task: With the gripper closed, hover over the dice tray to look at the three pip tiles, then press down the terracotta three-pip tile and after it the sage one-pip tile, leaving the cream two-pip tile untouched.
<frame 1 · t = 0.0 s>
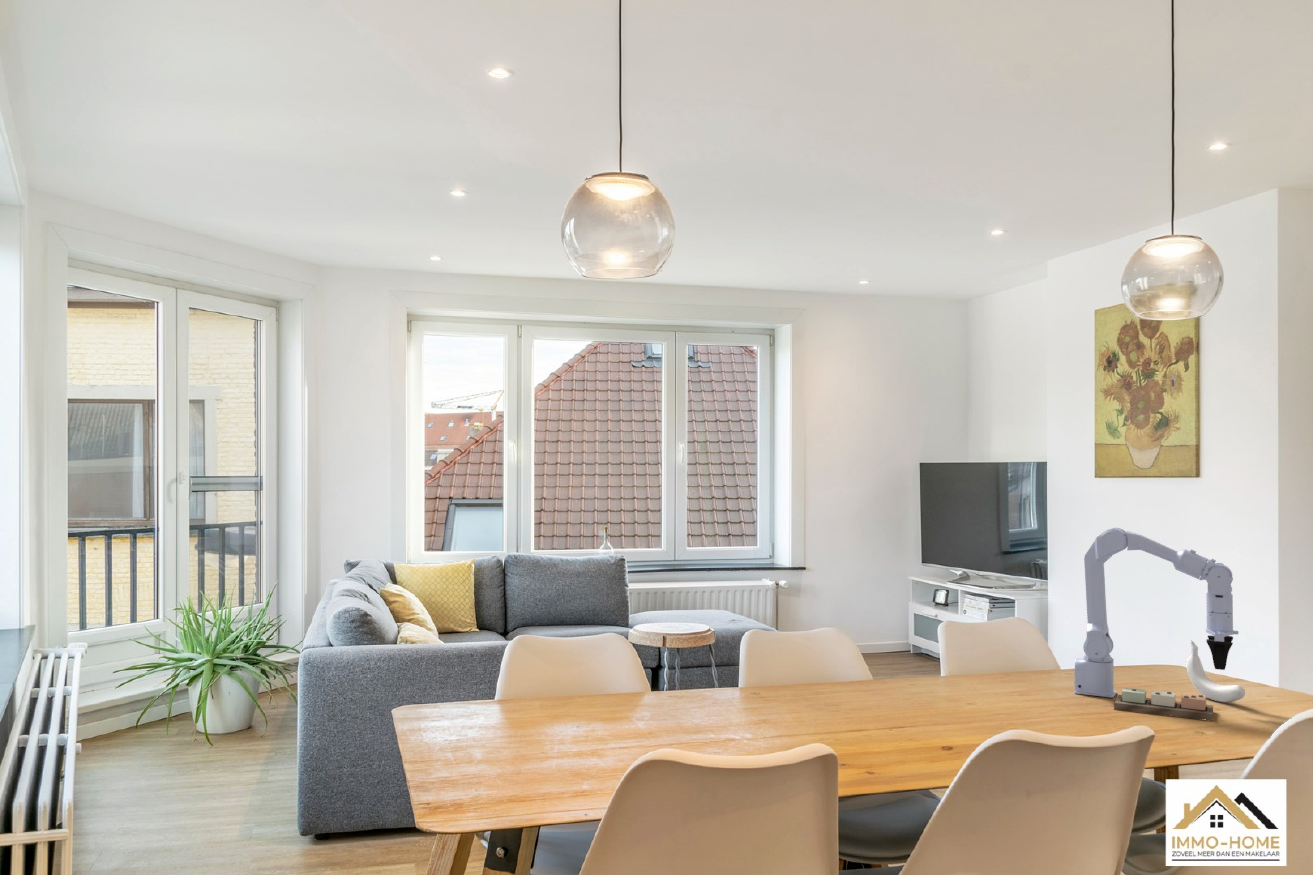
hand: (1220, 666, 245), 10 cm above the table, tool pointing down, fingers open, 7 cm apart
tile one: (1134, 694, 243), point 3 cm above the table, slide at 0.0 cm
tile three: (1193, 701, 237), point 3 cm above the table, slide at 0.0 cm
dice tray: (1163, 710, 240), on the table
banana: (1216, 702, 251), on the table
tile two: (1163, 698, 240), point 3 cm above the table, slide at 0.0 cm
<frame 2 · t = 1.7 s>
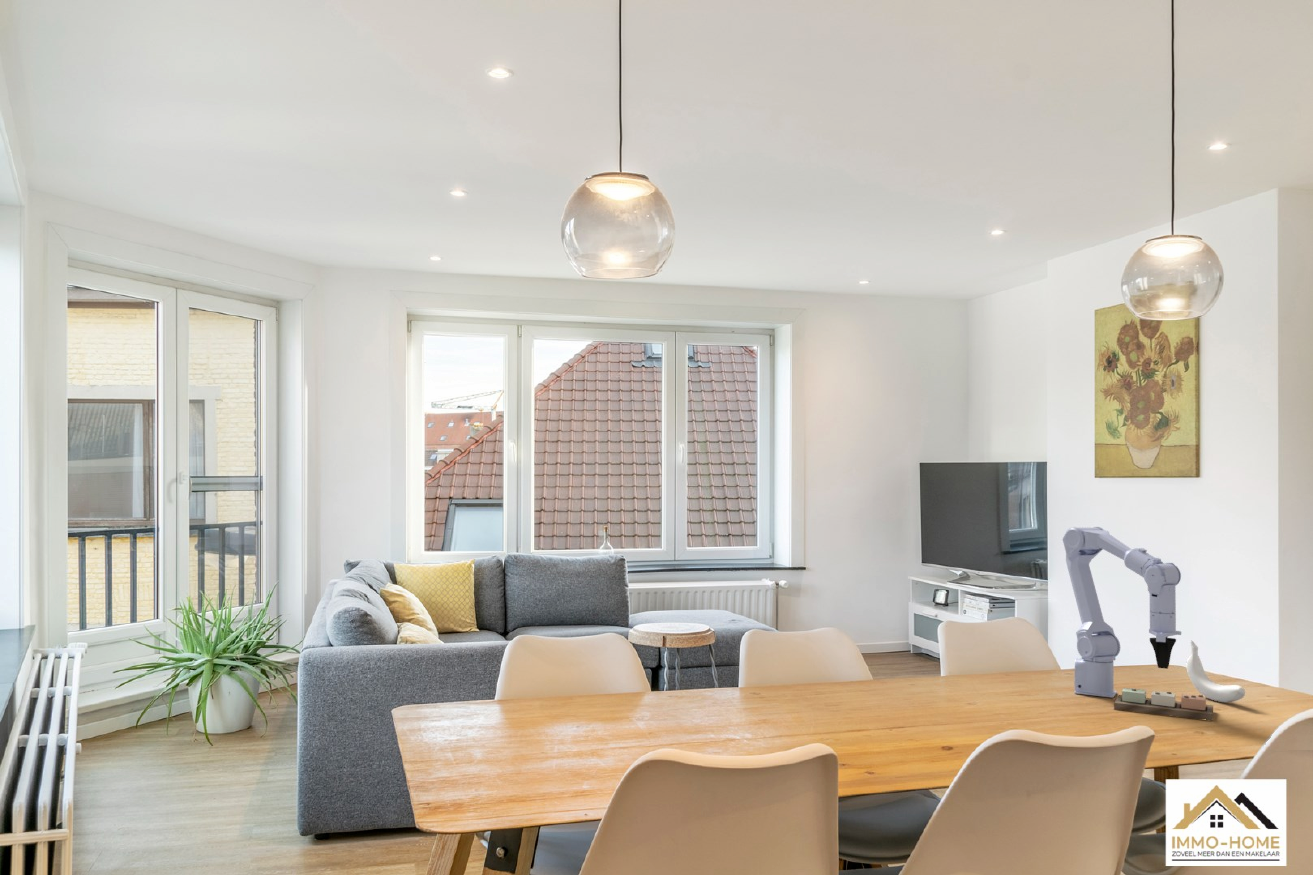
hand: (1163, 667, 240), 10 cm above the table, tool pointing down, fingers closed
nothing on the table moved.
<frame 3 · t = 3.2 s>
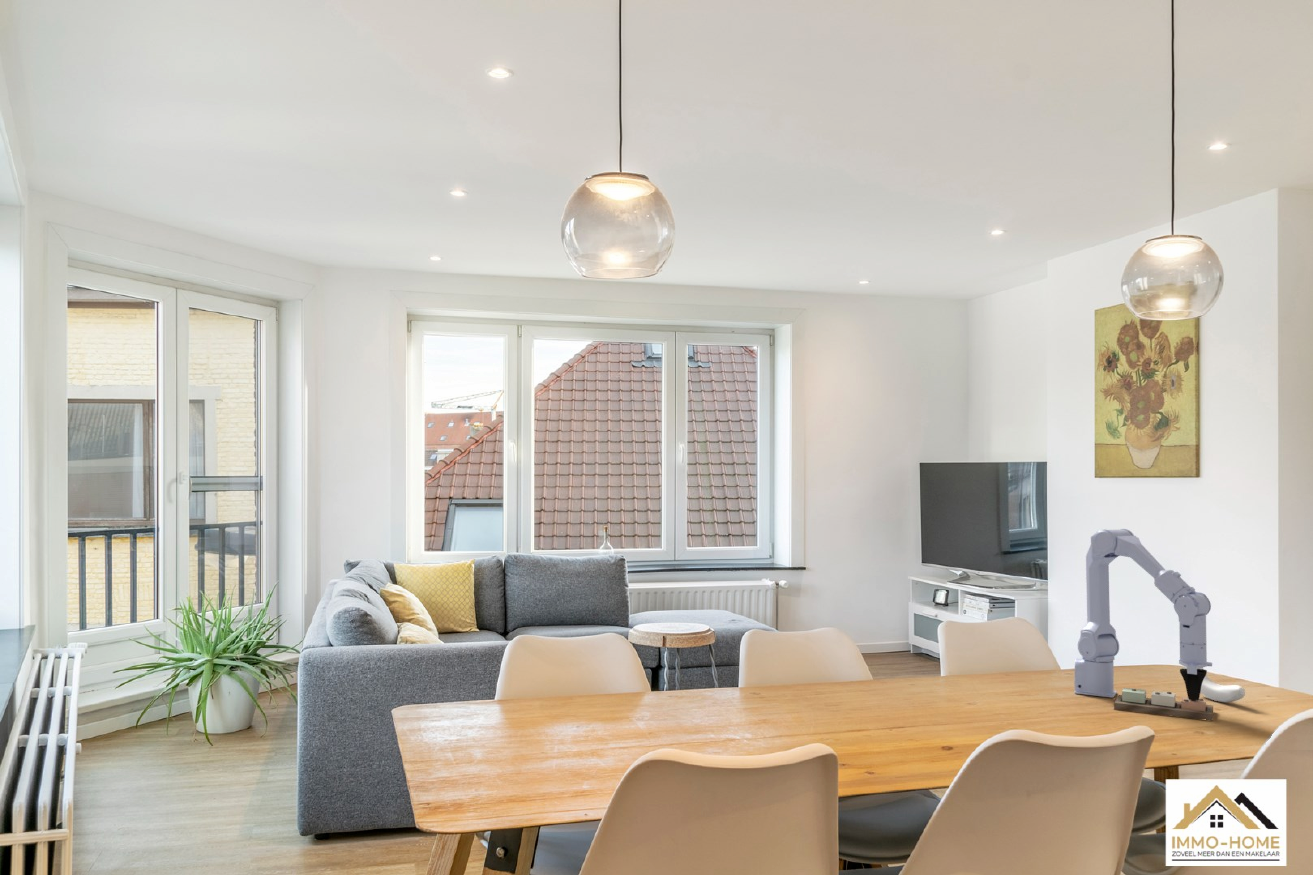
hand: (1193, 699, 237), 3 cm above the table, tool pointing down, fingers closed, pressing on tile three
tile three: (1193, 705, 237), point 2 cm above the table, slide at 0.9 cm, touching gripper
everything else where it was.
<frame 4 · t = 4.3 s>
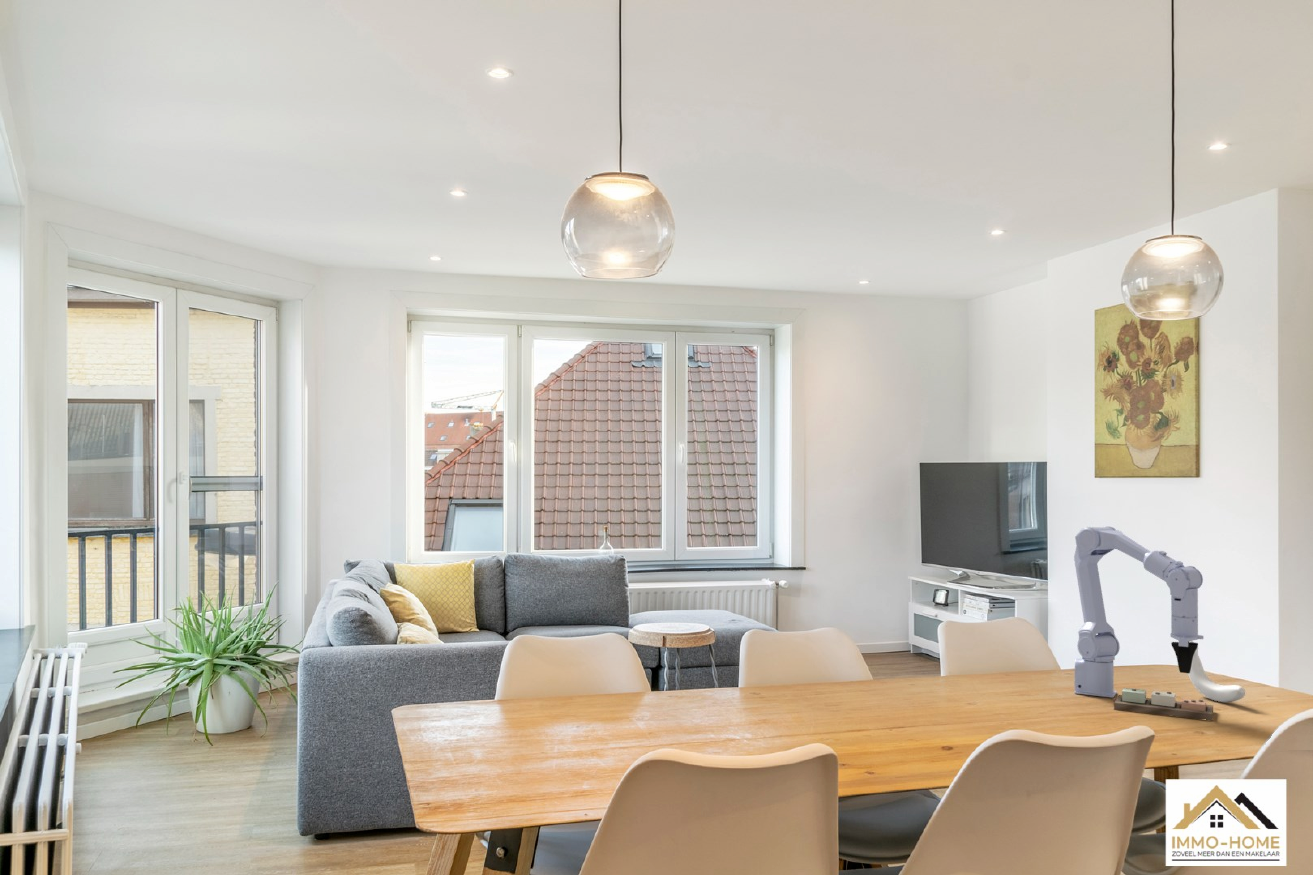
hand: (1184, 672, 238), 10 cm above the table, tool pointing down, fingers closed
tile three: (1193, 706, 237), point 2 cm above the table, slide at 1.1 cm
everything else where it was.
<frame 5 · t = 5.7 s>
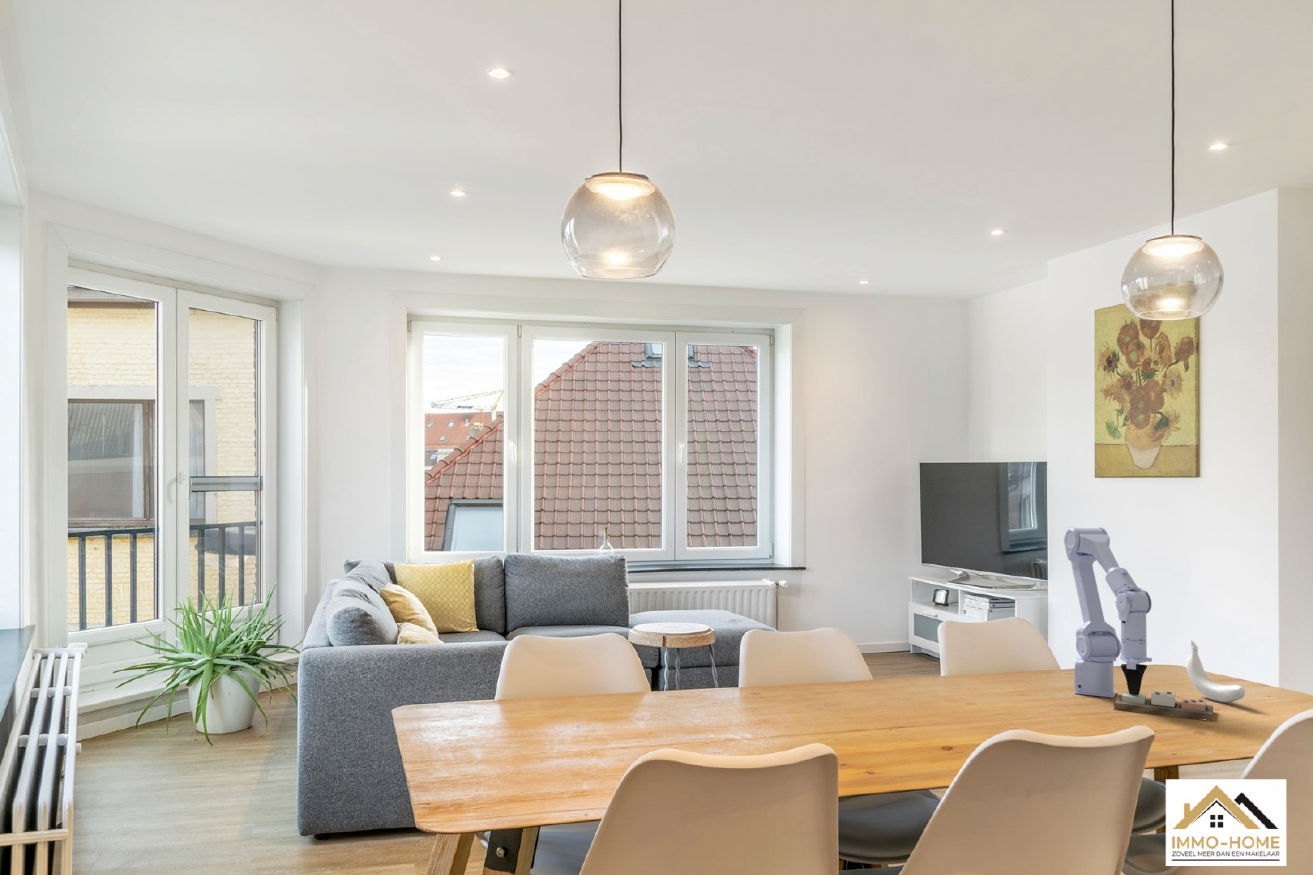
hand: (1134, 694, 243), 3 cm above the table, tool pointing down, fingers closed, pressing on tile one
tile one: (1134, 699, 243), point 2 cm above the table, slide at 1.1 cm, touching gripper
everything else where it was.
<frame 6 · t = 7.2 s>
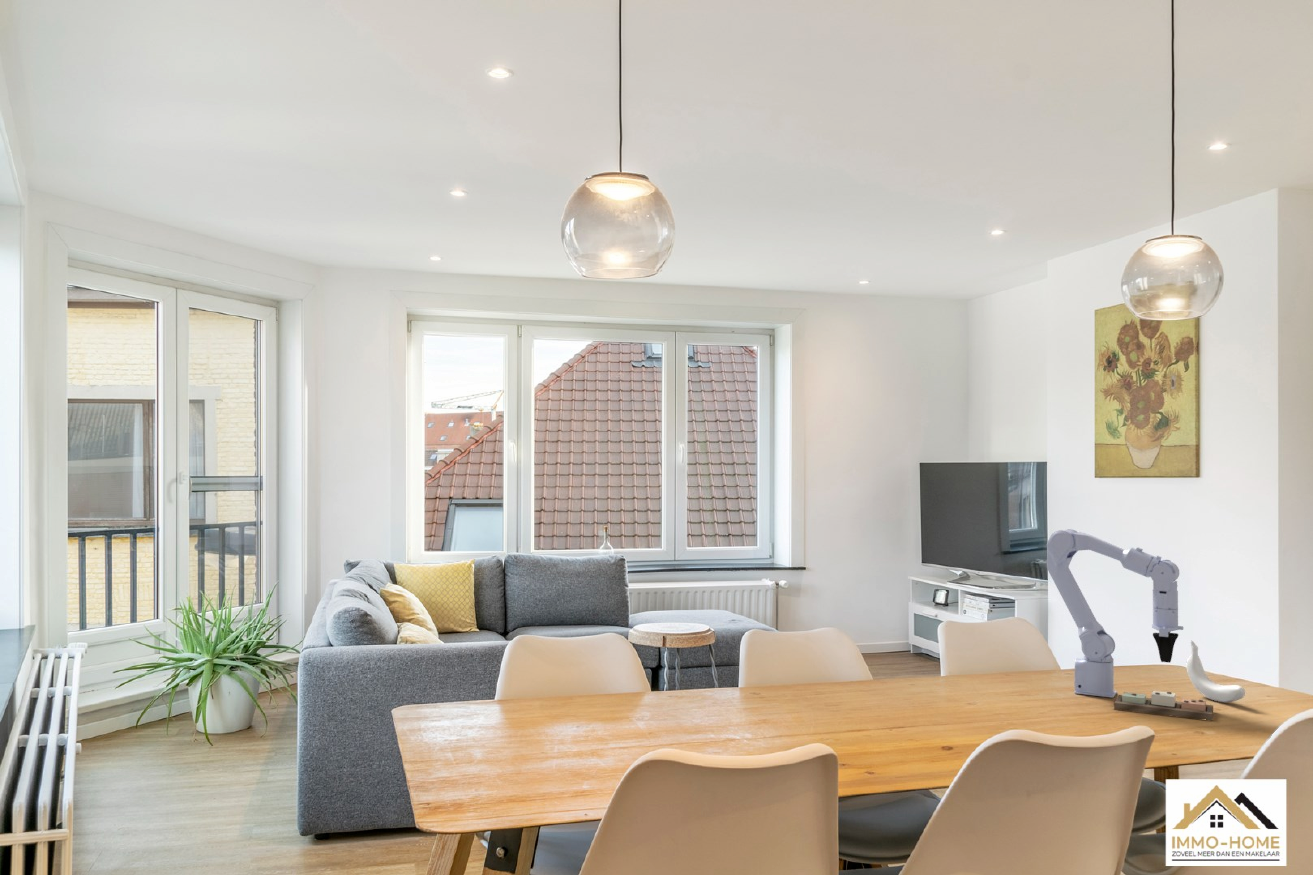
hand: (1165, 661, 249), 10 cm above the table, tool pointing down, fingers closed
tile one: (1134, 699, 243), point 2 cm above the table, slide at 1.1 cm
everything else where it was.
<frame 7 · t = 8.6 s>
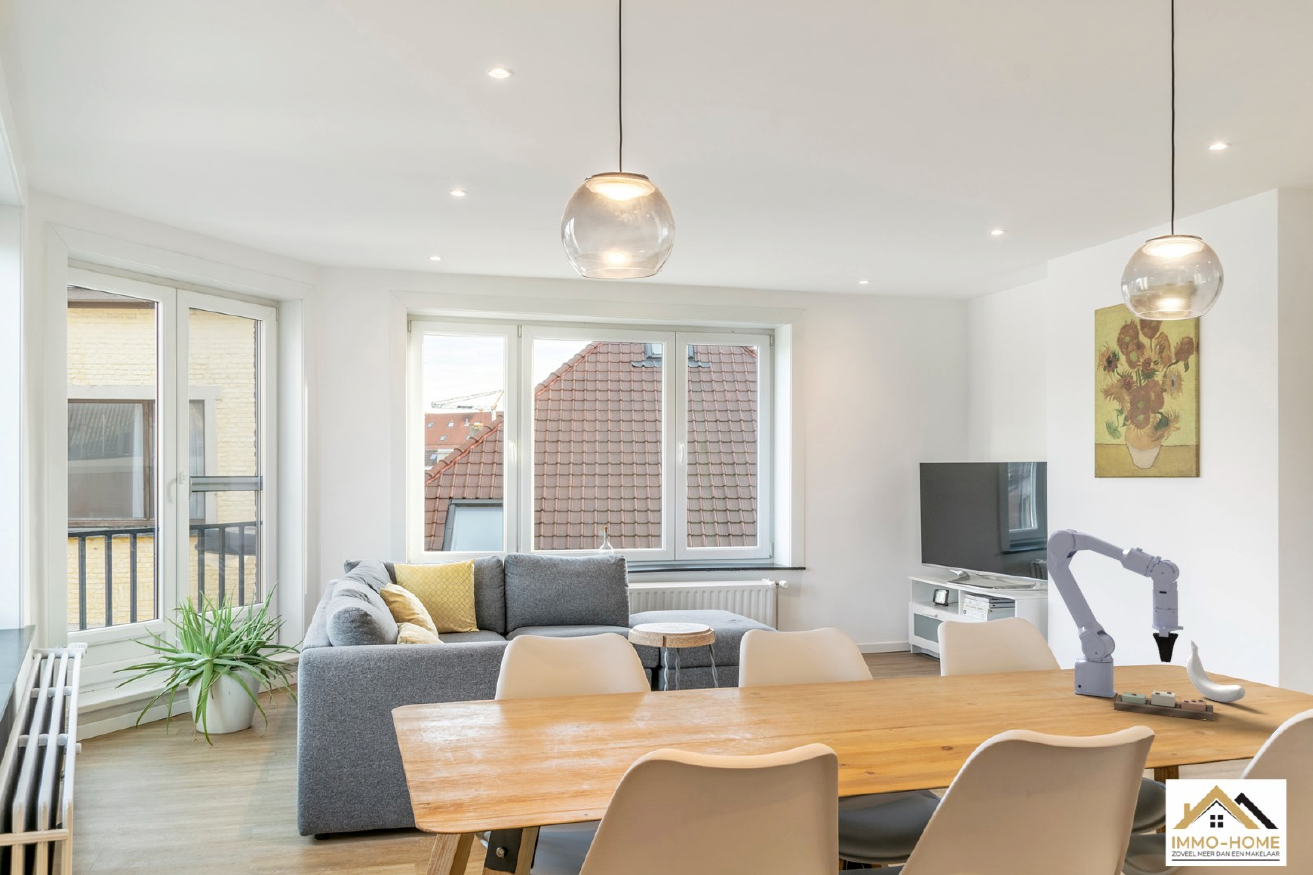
hand: (1165, 661, 249), 10 cm above the table, tool pointing down, fingers closed
nothing on the table moved.
at the end: tile three slide at 1.1 cm; tile one slide at 1.1 cm; tile two slide at 0.0 cm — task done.
